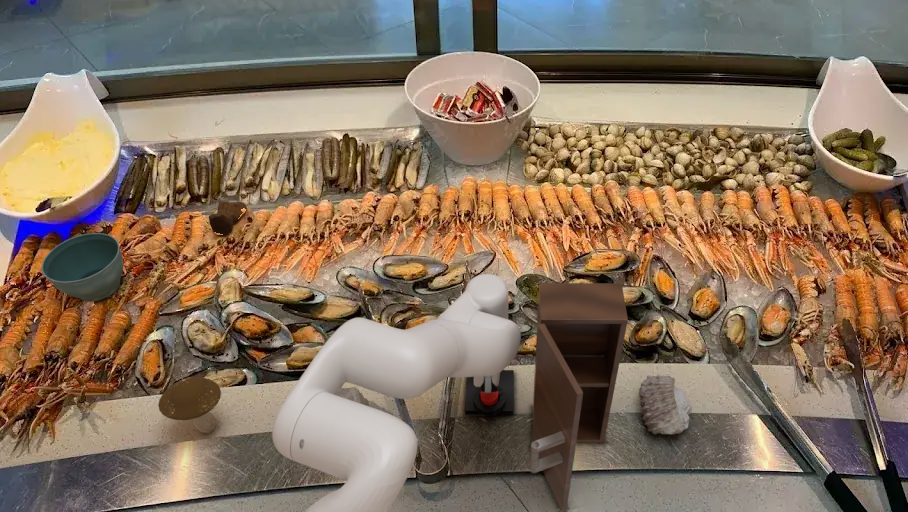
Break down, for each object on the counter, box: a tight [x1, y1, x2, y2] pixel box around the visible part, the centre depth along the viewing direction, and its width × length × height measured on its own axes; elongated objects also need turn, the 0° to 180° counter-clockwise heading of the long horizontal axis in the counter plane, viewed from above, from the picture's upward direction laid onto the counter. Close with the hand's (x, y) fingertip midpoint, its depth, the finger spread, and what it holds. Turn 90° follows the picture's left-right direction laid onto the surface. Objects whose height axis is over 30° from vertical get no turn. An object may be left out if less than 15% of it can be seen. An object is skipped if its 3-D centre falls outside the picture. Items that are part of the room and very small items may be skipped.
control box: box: [464, 369, 515, 417], centre depth 138 cm, size 11×10×4 cm
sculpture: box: [208, 200, 248, 238], centre depth 176 cm, size 8×10×15 cm
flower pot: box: [41, 232, 124, 303], centre depth 158 cm, size 16×16×11 cm
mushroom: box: [157, 376, 222, 434], centre depth 129 cm, size 9×11×15 cm
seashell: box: [638, 374, 693, 435], centre depth 135 cm, size 14×9×10 cm
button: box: [481, 391, 498, 406], centre depth 135 cm, size 4×4×2 cm
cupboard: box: [532, 282, 629, 444], centre depth 122 cm, size 8×14×38 cm, turn 90°
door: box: [529, 323, 583, 512], centre depth 113 cm, size 7×14×38 cm, turn 22°
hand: (489, 388), depth 134 cm, fingers closed
